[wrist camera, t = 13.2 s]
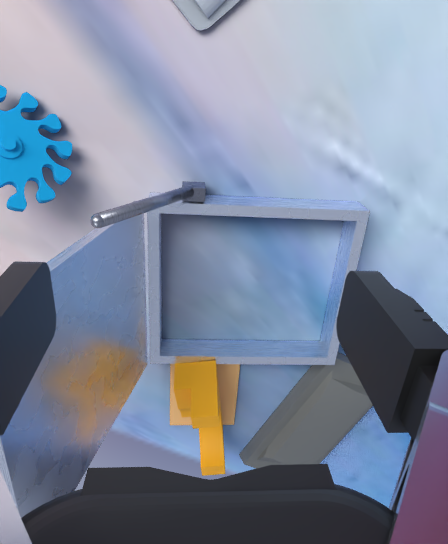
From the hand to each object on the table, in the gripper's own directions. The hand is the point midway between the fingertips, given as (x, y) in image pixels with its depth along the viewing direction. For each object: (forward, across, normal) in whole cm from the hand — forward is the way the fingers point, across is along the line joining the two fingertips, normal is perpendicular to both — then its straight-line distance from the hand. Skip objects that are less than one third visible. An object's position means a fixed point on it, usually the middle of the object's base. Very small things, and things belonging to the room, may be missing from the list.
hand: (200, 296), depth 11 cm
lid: (+15, +7, +14) cm, 22 cm away
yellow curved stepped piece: (+26, -1, +28) cm, 39 cm away
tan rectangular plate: (+28, -2, +29) cm, 41 cm away
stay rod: (+26, +3, +4) cm, 27 cm away
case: (+28, -6, +14) cm, 32 cm away
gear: (+28, +15, +1) cm, 32 cm away
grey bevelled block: (+29, -16, +34) cm, 47 cm away
